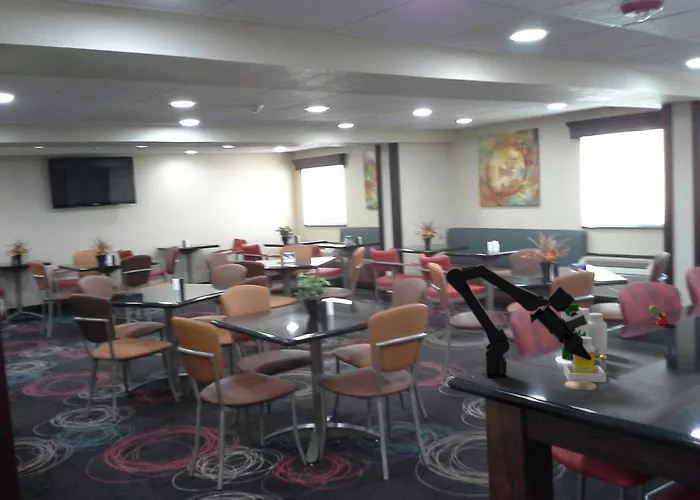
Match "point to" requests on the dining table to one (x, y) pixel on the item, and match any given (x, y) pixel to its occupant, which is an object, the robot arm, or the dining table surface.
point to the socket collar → (589, 377)
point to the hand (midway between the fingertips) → (588, 356)
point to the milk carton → (580, 330)
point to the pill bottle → (598, 332)
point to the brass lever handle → (600, 354)
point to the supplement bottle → (583, 364)
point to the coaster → (580, 385)
